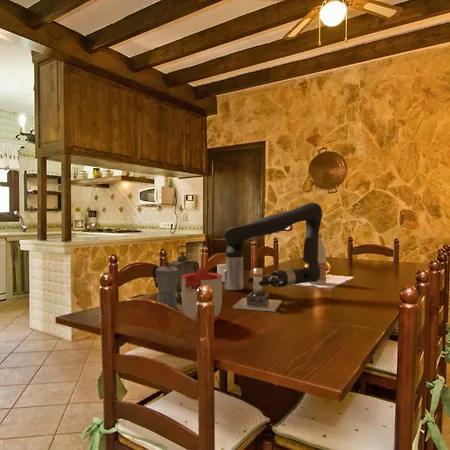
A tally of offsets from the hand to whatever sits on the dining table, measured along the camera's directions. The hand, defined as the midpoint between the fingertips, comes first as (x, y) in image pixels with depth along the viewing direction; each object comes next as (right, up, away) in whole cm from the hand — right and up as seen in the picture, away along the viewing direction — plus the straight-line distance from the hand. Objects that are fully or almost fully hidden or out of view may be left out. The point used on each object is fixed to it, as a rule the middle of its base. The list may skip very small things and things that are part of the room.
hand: (254, 281), depth 157 cm
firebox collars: (+2, -10, +1) cm, 11 cm away
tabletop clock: (-33, -10, +17) cm, 39 cm away
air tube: (+2, -9, +1) cm, 10 cm away
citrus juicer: (-22, -11, -22) cm, 33 cm away
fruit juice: (+40, -9, +52) cm, 66 cm away
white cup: (-13, -9, +58) cm, 60 cm away
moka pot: (-37, -11, -6) cm, 40 cm away
